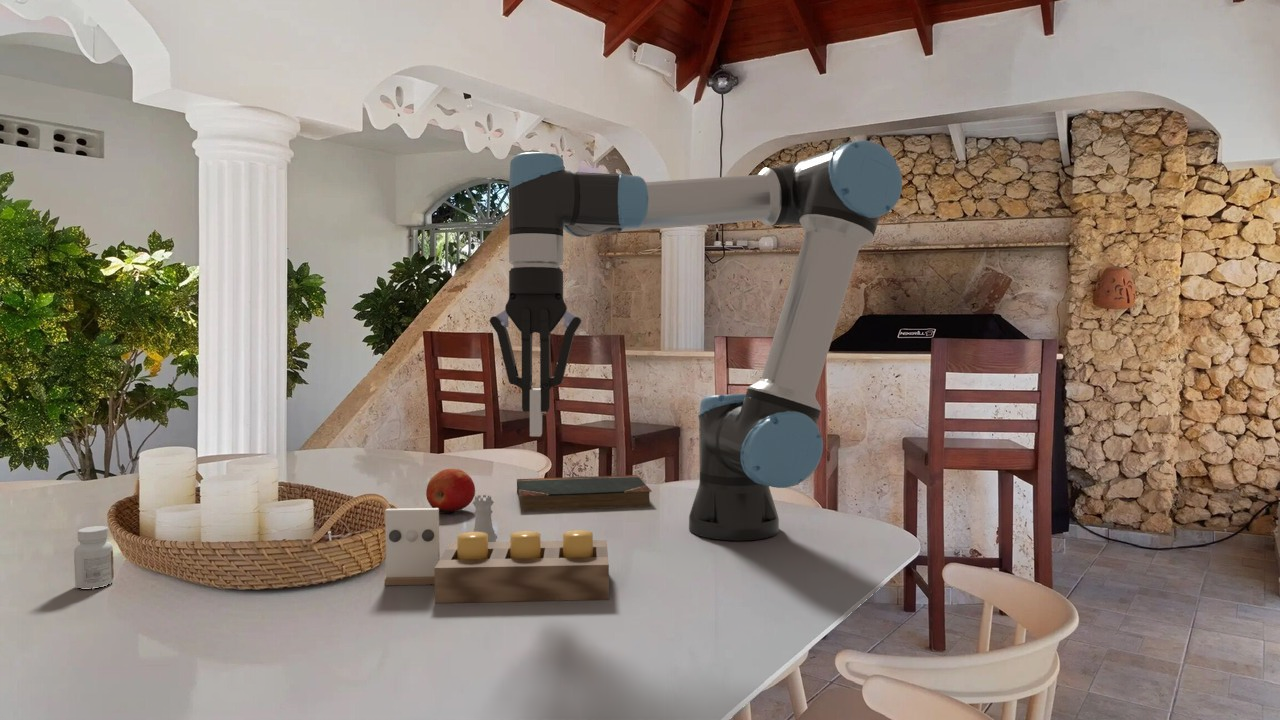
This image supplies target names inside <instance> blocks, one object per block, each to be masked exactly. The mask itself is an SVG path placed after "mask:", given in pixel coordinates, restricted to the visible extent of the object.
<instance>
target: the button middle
mask: <svg viewBox="0 0 1280 720" xmlns="http://www.w3.org/2000/svg"><path fill="white" fill-rule="evenodd" d="M509 537H510V538H509V539H510V541H509V542H510V558H511V559H524V558H541V546H540V541H541V533H540V532H538V531H535V530H534V531H532V530H522V531H521V530H520V531H515V532H513V533H511V534H510V536H509Z"/></svg>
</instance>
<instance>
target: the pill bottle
mask: <svg viewBox="0 0 1280 720" xmlns="http://www.w3.org/2000/svg"><path fill="white" fill-rule="evenodd" d="M108 538H109V527H108V526H105V525H94V526H87V527H83V528H80V529H78V530H77V541H78V542H79V544H78V545H77V546H76V547H75V548H74V549H73V552H74V553H73V557H74V558H73V560H74V583H75V585H74V586H75V588H76V589H77V588H93V587H100V586H103V585H107V584H110V583H112V582H113V581H114V582H115V577H114V574H115V573H114V572H115V570H114V545H113V544H112V542H110V541H108V540H107V539H108ZM114 582H113V583H114ZM113 583H112V584H113ZM110 585H111V584H110Z"/></svg>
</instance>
